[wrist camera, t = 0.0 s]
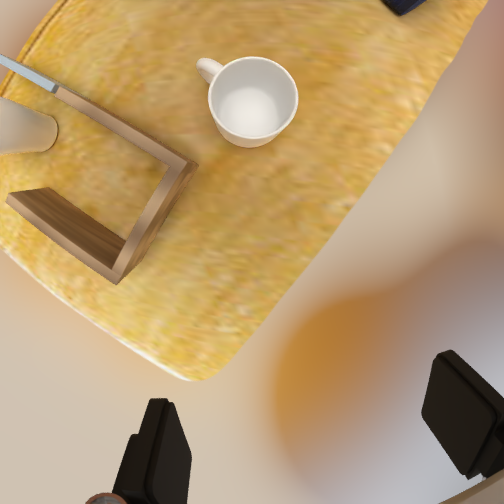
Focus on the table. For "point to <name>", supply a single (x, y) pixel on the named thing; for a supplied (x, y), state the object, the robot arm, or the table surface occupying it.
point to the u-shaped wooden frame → (87, 229)
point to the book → (403, 5)
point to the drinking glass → (24, 129)
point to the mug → (249, 98)
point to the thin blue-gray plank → (33, 75)
